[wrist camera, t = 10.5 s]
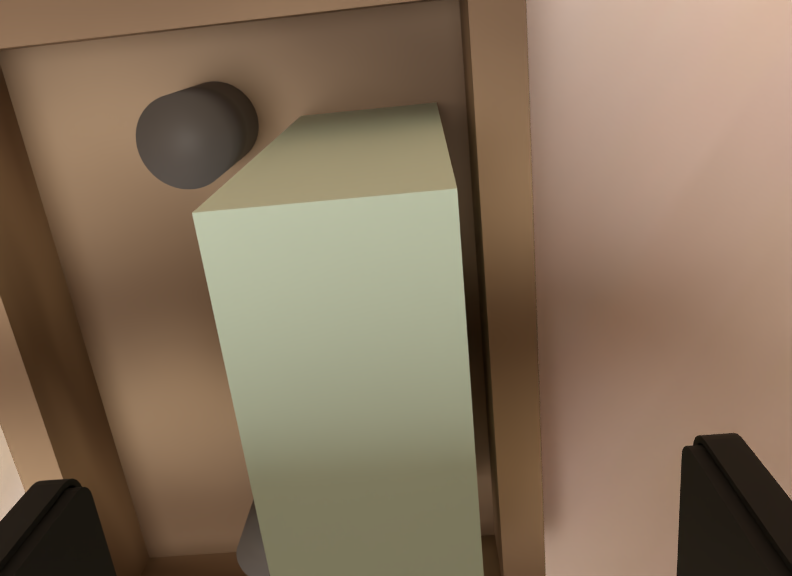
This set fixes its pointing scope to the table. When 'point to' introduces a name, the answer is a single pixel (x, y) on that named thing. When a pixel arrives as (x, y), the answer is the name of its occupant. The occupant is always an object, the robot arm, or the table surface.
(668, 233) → the table surface
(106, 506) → the brown wooden shallow tray
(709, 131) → the table surface
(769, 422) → the table surface
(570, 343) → the table surface
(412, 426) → the light green rectangular block
